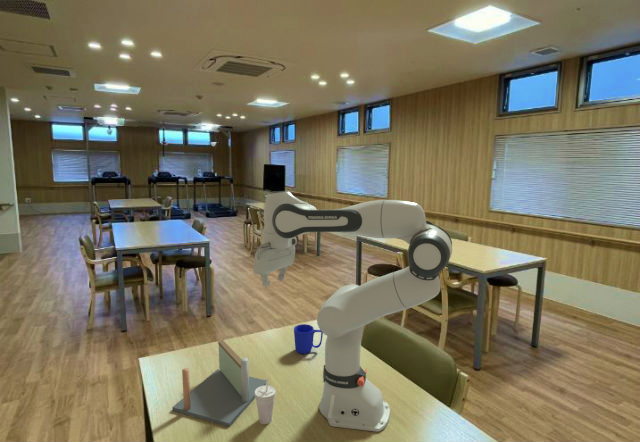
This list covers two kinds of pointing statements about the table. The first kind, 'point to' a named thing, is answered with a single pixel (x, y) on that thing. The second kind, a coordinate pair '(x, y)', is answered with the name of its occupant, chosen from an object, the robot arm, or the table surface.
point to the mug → (305, 338)
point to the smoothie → (265, 402)
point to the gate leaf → (230, 365)
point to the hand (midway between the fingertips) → (273, 283)
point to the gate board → (218, 396)
